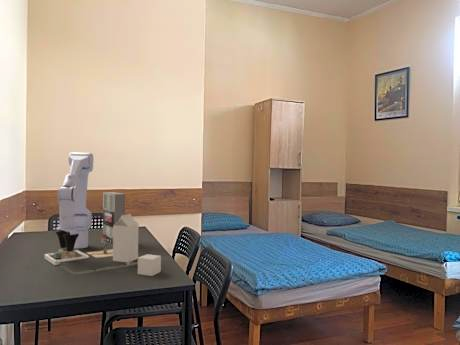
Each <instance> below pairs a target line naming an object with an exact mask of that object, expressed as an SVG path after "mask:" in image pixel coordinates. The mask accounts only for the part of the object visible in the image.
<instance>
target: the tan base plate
mask: <svg viewBox="0 0 460 345" xmlns="http://www.w3.org/2000/svg"><path fill="white" fill-rule="evenodd" d="M85 254H87V255H90V256H92V257H94V258H95V259H100V258H101V259H102V258H106V257H113V248H110V249H109V248H108V243H107V242H104V243H103V249H101V250H94V251H88V252H85Z"/></svg>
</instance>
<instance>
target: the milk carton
mask: <svg viewBox="0 0 460 345" xmlns="http://www.w3.org/2000/svg"><path fill="white" fill-rule="evenodd" d="M112 249H113V256H112V261H113V262H119V263H123V265H131V264H133V263H134V261H135V260H138V258H139V223H138V222H137V221H136V220H135V219H134V217H132V213H128V214H125V215H123V216H121V218H120V219H119V220H118V222H117V223H116V224H114V225H113V245H112Z"/></svg>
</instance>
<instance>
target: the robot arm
mask: <svg viewBox="0 0 460 345" xmlns="http://www.w3.org/2000/svg"><path fill="white" fill-rule="evenodd" d="M68 164H69V166H70V169H69V173H68V174H66V175H65V177H64V180H63V183H62V185H61V187H60V188H59V187H58V188H57V194H56V197H57V205H58V206H59V209H58V210H59V214H58V215H59V218H58V219H59V220H58V221H59V225H58V226H57V227H56V228H55V229H56V230H55V234H56V235H57V237H58V238H57V239H58V241H59V246H60V249H67V252H70V251H73V249H74V250H75V249H76V250H79V249H85V248H88V246H89V230H90V228H91V227H92V224H93V218H92V216H93V214H92V211H90V209H88V208H87V198H88V197H87V196H88V195H87V194H88V185H89V184H88V183H89V182H88V180H89V174H90V173H92V172H93V169H94V154H93V153H92V152H73V151H71V152H70V153H69V154H68Z"/></svg>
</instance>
